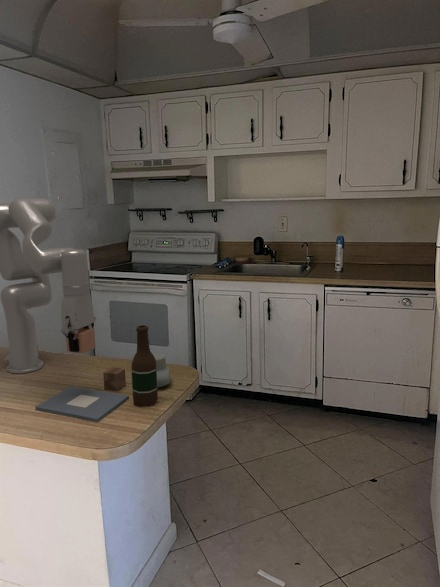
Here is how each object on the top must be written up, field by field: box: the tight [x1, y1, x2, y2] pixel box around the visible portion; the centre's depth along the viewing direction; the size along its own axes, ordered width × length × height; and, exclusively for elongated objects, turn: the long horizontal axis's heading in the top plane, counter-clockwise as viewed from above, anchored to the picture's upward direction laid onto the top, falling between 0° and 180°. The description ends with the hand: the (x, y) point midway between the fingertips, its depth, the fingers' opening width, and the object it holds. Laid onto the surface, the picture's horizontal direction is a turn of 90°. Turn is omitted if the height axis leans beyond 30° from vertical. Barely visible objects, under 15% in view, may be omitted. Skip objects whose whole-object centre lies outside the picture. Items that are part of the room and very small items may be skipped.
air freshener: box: [152, 353, 171, 389], centre depth 148 cm, size 11×8×10 cm
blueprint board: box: [34, 385, 130, 423], centre depth 134 cm, size 22×16×1 cm
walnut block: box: [102, 366, 127, 392], centre depth 146 cm, size 5×5×6 cm
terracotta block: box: [65, 328, 97, 354], centre depth 136 cm, size 6×6×6 cm
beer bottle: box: [131, 325, 158, 408], centre depth 133 cm, size 8×8×24 cm
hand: (81, 347), depth 136 cm, fingers closed on terracotta block, 6 cm apart
